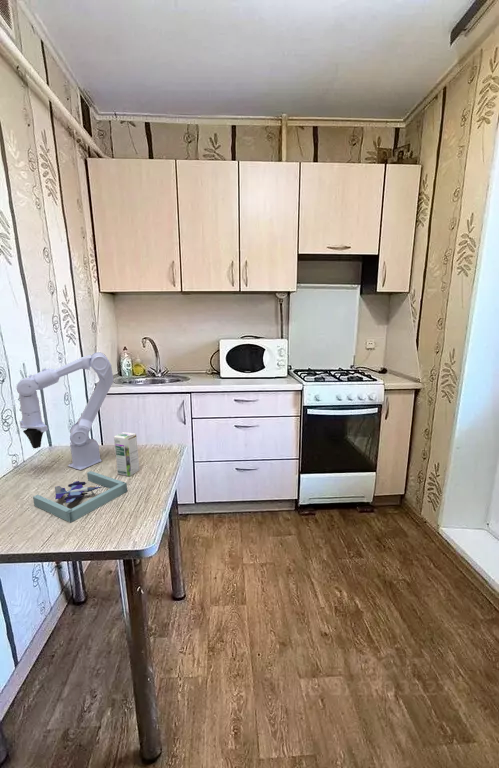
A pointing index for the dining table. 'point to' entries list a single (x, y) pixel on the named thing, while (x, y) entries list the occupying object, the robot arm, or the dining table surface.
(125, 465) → the syrup box
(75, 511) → the bay
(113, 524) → the dining table surface
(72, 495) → the toy airplane
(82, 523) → the dining table surface
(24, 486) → the dining table surface
